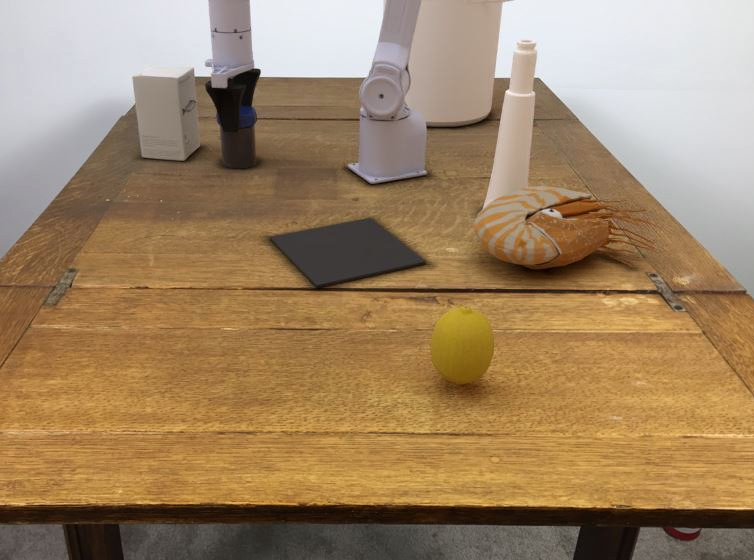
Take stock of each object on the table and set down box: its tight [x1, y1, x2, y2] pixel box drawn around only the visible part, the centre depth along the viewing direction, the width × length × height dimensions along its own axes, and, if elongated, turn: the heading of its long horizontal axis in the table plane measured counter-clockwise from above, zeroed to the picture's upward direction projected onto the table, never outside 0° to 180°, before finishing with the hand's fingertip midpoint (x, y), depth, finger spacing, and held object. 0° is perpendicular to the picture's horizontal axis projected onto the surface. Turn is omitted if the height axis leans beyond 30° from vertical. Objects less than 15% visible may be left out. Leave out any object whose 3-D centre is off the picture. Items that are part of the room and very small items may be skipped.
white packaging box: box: [131, 64, 201, 162], centre depth 121 cm, size 7×7×13 cm
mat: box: [269, 217, 427, 289], centre depth 94 cm, size 14×14×1 cm
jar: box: [219, 123, 257, 170], centre depth 119 cm, size 5×5×7 cm
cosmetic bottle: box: [482, 39, 538, 210], centre depth 98 cm, size 6×6×22 cm
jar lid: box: [215, 105, 258, 128], centre depth 117 cm, size 6×6×2 cm
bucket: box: [382, 0, 514, 128], centre depth 138 cm, size 26×22×25 cm
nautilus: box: [473, 185, 661, 270], centre depth 91 cm, size 8×22×15 cm
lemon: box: [429, 305, 495, 386], centre depth 69 cm, size 6×6×8 cm
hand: (236, 125), depth 117 cm, fingers open, 6 cm apart
